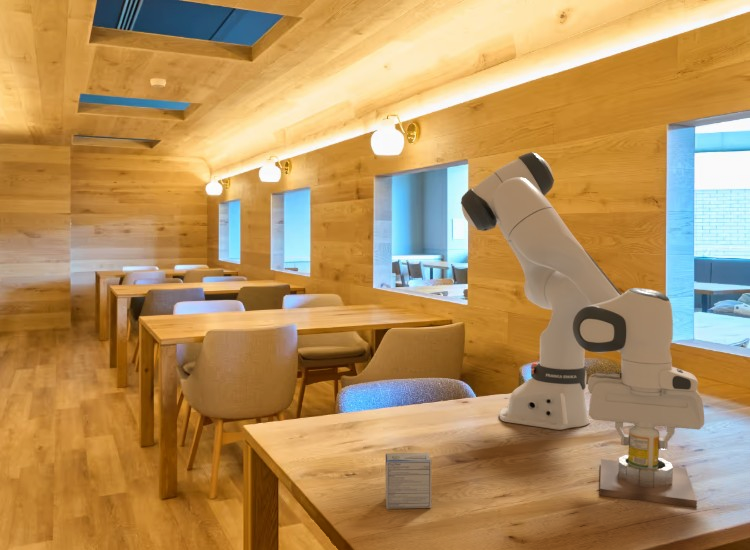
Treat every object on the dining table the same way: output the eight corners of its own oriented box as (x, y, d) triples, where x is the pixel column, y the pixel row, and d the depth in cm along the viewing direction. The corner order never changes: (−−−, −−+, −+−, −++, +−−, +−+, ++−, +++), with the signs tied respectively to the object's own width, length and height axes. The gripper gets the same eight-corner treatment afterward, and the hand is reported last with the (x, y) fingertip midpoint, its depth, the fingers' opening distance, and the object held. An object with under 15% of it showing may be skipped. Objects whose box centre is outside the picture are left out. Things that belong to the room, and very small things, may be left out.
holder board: (600, 495, 121) (600, 472, 121) (600, 464, 137) (601, 444, 137) (696, 507, 116) (697, 483, 115) (685, 474, 132) (686, 453, 131)
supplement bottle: (636, 472, 123) (637, 421, 122) (622, 462, 128) (624, 413, 128) (664, 471, 124) (665, 420, 123) (649, 461, 129) (650, 413, 128)
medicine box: (428, 499, 119) (429, 451, 119) (431, 509, 115) (432, 460, 114) (385, 499, 119) (385, 452, 118) (386, 509, 114) (386, 460, 114)
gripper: (587, 373, 125) (585, 445, 126) (707, 382, 119) (704, 458, 119) (588, 367, 131) (586, 436, 132) (702, 375, 124) (700, 447, 125)
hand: (643, 446), depth 126 cm, fingers closed on supplement bottle, 5 cm apart
